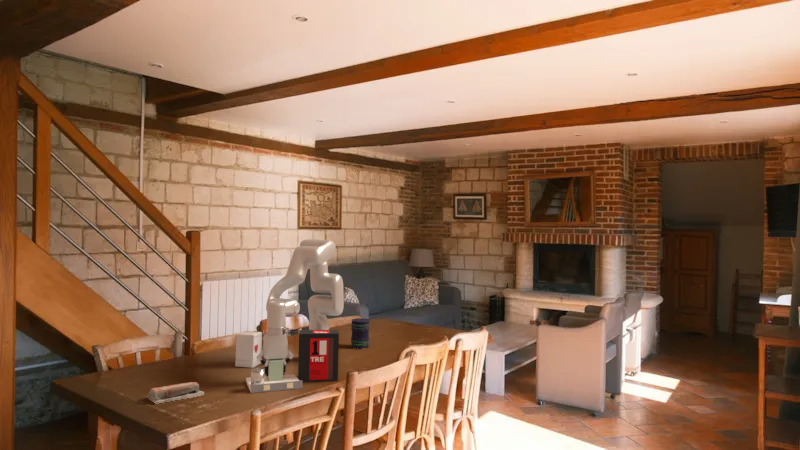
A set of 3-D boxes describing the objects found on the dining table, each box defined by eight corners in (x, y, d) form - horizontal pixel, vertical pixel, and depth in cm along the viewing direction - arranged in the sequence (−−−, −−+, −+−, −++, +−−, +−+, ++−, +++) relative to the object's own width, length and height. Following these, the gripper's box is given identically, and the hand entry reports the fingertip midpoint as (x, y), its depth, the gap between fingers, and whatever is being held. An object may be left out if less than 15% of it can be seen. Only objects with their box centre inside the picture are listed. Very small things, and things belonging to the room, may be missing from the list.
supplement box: (252, 368, 242) (253, 335, 242) (234, 366, 244) (235, 334, 244) (262, 363, 251) (262, 331, 251) (244, 362, 252) (245, 330, 253)
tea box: (266, 376, 223) (267, 357, 223) (280, 375, 225) (280, 356, 225) (269, 381, 216) (269, 361, 216) (283, 380, 218) (283, 360, 219)
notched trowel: (155, 392, 189) (145, 386, 196) (155, 406, 189) (145, 399, 196) (205, 383, 202) (194, 378, 209) (204, 396, 202) (193, 390, 209)
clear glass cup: (263, 383, 214) (263, 367, 214) (265, 386, 209) (265, 370, 209) (249, 384, 212) (250, 368, 212) (251, 388, 207) (251, 371, 207)
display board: (294, 377, 228) (294, 370, 228) (302, 388, 213) (302, 381, 213) (246, 381, 221) (246, 374, 221) (250, 393, 205) (251, 385, 205)
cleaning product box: (297, 382, 222) (299, 334, 222) (298, 376, 230) (299, 330, 231) (337, 381, 224) (338, 333, 225) (336, 375, 233) (337, 329, 233)
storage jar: (372, 347, 291) (373, 319, 291) (361, 350, 283) (362, 322, 283) (358, 344, 296) (358, 317, 297) (347, 347, 288) (347, 320, 288)
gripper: (294, 328, 228) (293, 371, 227) (253, 330, 221) (252, 374, 221) (298, 331, 221) (297, 375, 220) (255, 334, 214) (254, 379, 214)
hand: (274, 374), depth 221 cm, fingers closed on tea box, 5 cm apart
